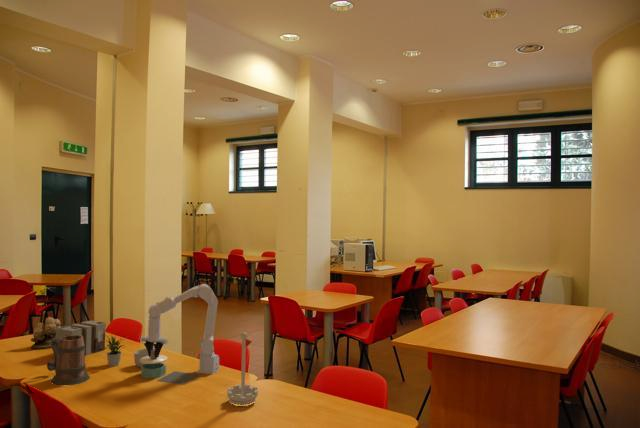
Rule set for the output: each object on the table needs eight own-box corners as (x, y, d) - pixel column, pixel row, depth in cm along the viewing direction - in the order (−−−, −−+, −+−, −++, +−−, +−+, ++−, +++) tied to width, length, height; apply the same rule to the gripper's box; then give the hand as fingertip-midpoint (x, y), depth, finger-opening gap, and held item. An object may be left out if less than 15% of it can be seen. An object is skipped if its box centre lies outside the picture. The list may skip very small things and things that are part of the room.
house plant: (90, 366, 253) (90, 334, 253) (110, 359, 265) (111, 329, 265) (111, 370, 247) (112, 338, 247) (131, 363, 260) (132, 332, 260)
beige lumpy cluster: (58, 341, 298) (59, 313, 298) (68, 344, 292) (69, 316, 291) (26, 347, 283) (27, 317, 283) (36, 351, 277) (37, 321, 277)
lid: (172, 357, 247) (172, 348, 247) (157, 364, 234) (157, 355, 234) (150, 355, 250) (150, 346, 250) (133, 362, 238) (134, 352, 238)
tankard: (97, 377, 237) (98, 335, 237) (67, 388, 222) (68, 344, 222) (64, 369, 247) (65, 329, 247) (32, 379, 232) (33, 337, 231)
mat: (200, 375, 243) (200, 374, 243) (184, 385, 229) (184, 384, 229) (174, 372, 248) (174, 371, 248) (156, 381, 233) (156, 380, 233)
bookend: (108, 349, 283) (109, 321, 283) (70, 361, 261) (71, 330, 260) (89, 346, 290) (89, 318, 290) (50, 357, 267) (50, 327, 267)
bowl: (169, 372, 246) (169, 363, 246) (156, 379, 236) (156, 370, 236) (150, 370, 249) (150, 361, 249) (136, 377, 239) (136, 367, 239)
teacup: (148, 370, 249) (149, 354, 249) (129, 368, 252) (129, 352, 252) (162, 362, 263) (163, 347, 263) (144, 360, 265) (144, 345, 265)
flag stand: (244, 410, 203) (245, 337, 202) (220, 403, 209) (222, 332, 209) (263, 400, 214) (265, 331, 214) (241, 394, 221) (242, 327, 220)
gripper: (136, 329, 240) (135, 357, 240) (162, 332, 236) (161, 360, 236) (145, 326, 247) (144, 353, 247) (170, 329, 243) (170, 356, 243)
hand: (153, 356), depth 242 cm, fingers closed on lid, 3 cm apart
